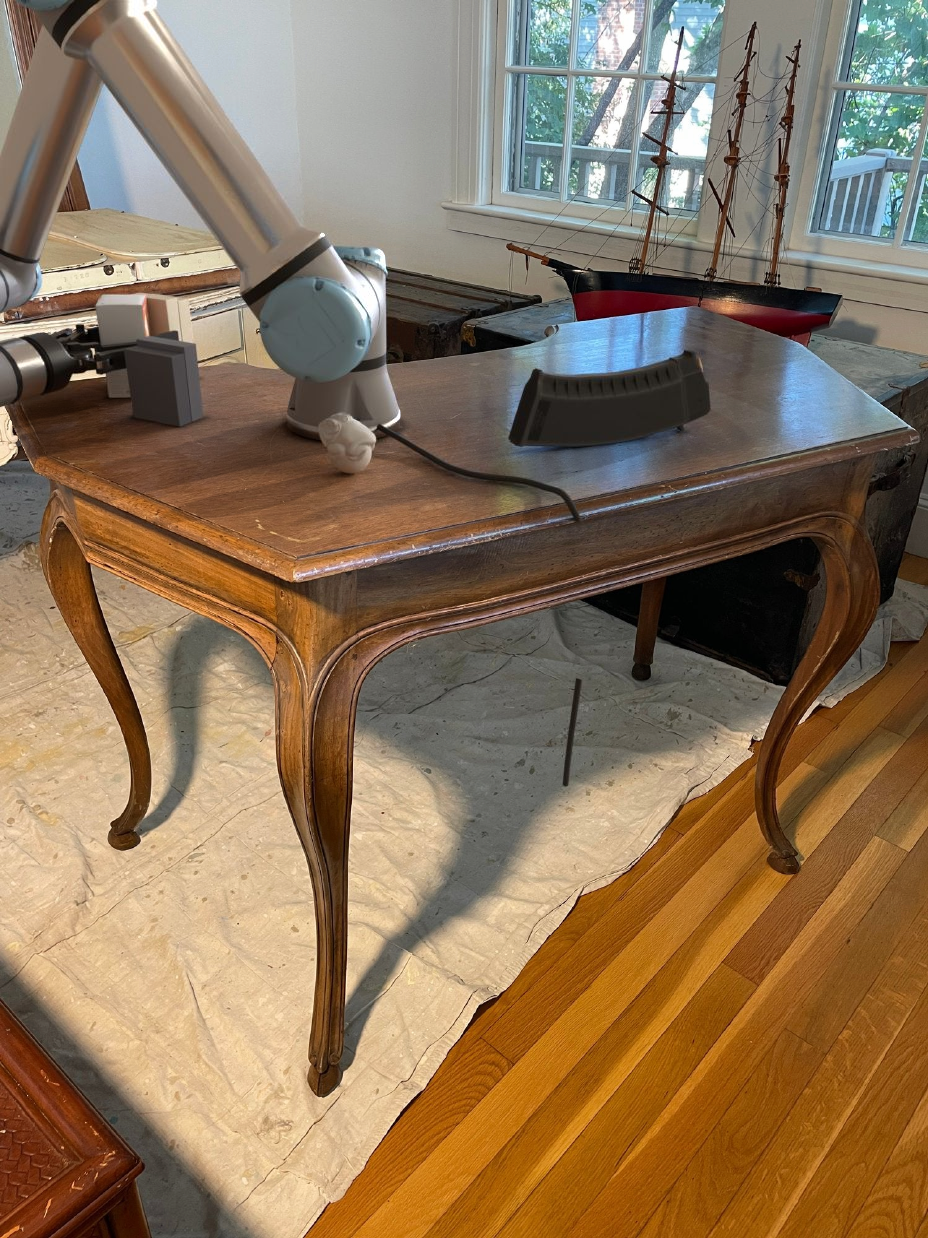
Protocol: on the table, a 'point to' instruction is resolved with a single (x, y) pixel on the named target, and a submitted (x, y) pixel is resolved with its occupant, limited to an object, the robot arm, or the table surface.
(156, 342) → the grey books
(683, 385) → the magazine
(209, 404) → the table surface
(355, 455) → the plaster face bust
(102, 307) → the small box
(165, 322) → the beige rectangular block
